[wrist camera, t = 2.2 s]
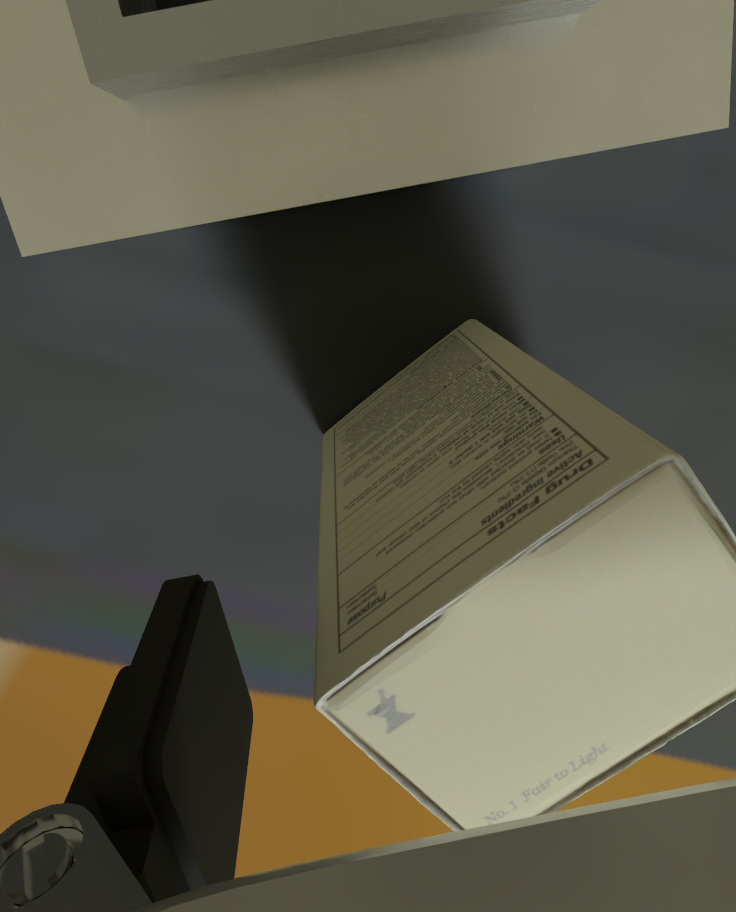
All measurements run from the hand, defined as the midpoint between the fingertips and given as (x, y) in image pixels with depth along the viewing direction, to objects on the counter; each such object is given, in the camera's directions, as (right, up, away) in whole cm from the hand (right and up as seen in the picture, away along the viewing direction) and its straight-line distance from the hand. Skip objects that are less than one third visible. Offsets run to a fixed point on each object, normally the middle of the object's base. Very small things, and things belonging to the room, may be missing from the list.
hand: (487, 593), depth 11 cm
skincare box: (0, +4, +10) cm, 10 cm away
